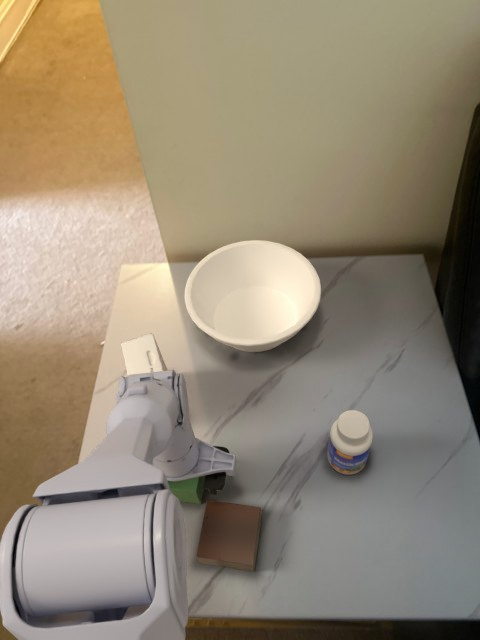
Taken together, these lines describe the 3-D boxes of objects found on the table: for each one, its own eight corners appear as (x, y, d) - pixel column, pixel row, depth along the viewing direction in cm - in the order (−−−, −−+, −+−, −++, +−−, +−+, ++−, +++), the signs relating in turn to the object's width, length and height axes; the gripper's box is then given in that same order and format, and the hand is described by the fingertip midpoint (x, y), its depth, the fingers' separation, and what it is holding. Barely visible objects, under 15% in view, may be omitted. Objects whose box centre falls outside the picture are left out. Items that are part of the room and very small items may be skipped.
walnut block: (254, 571, 69) (253, 565, 67) (199, 563, 70) (195, 556, 68) (262, 515, 73) (261, 507, 71) (209, 508, 74) (207, 500, 72)
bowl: (305, 386, 85) (306, 356, 78) (174, 361, 89) (165, 330, 83) (329, 282, 97) (331, 249, 90) (212, 265, 101) (207, 231, 95)
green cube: (200, 504, 75) (196, 492, 71) (168, 499, 76) (162, 487, 72) (207, 472, 78) (203, 458, 74) (175, 468, 78) (170, 454, 75)
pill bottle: (329, 476, 76) (334, 446, 68) (324, 439, 79) (328, 406, 71) (370, 474, 76) (379, 443, 68) (363, 437, 79) (371, 403, 71)
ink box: (138, 384, 87) (119, 340, 77) (169, 375, 88) (154, 330, 78) (149, 433, 82) (130, 392, 72) (182, 422, 82) (168, 380, 73)
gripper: (237, 414, 66) (244, 461, 77) (119, 401, 68) (142, 449, 79) (226, 472, 62) (236, 513, 73) (101, 456, 64) (129, 498, 75)
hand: (186, 483), depth 76 cm, fingers open, 7 cm apart
